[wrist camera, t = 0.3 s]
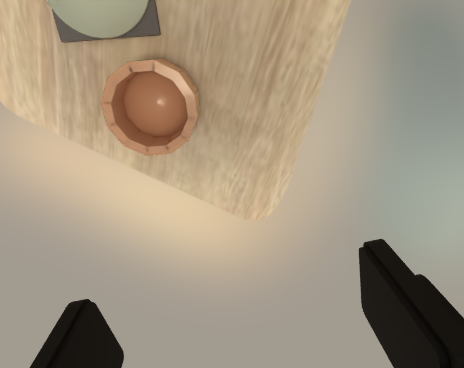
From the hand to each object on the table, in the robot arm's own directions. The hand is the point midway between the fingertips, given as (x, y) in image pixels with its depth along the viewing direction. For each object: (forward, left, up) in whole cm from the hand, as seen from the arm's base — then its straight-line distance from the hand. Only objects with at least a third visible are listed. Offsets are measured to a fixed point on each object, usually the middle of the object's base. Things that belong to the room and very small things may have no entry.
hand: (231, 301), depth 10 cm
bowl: (-3, -8, -30) cm, 31 cm away
